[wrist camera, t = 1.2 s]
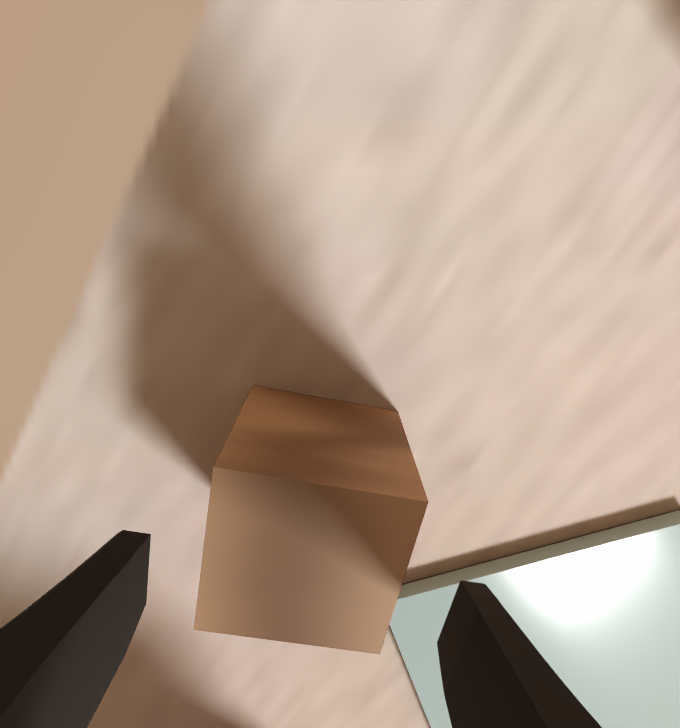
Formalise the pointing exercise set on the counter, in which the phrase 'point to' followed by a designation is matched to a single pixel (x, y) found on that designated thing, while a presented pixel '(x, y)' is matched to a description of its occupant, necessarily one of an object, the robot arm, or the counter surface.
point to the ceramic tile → (573, 620)
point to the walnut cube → (309, 523)
